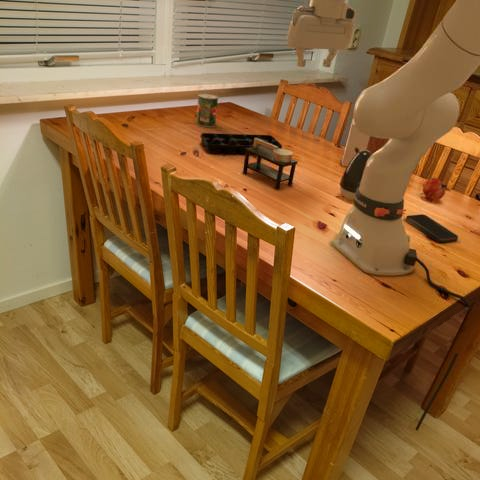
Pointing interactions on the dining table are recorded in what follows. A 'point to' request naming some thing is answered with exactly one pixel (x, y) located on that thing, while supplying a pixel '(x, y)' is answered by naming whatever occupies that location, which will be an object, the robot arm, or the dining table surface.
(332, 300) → the dining table surface
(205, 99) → the canned tomato
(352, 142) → the milk carton
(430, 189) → the pomegranate
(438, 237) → the phone
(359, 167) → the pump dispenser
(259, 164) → the rack
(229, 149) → the egg carton
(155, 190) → the dining table surface
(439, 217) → the dining table surface
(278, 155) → the ladle
